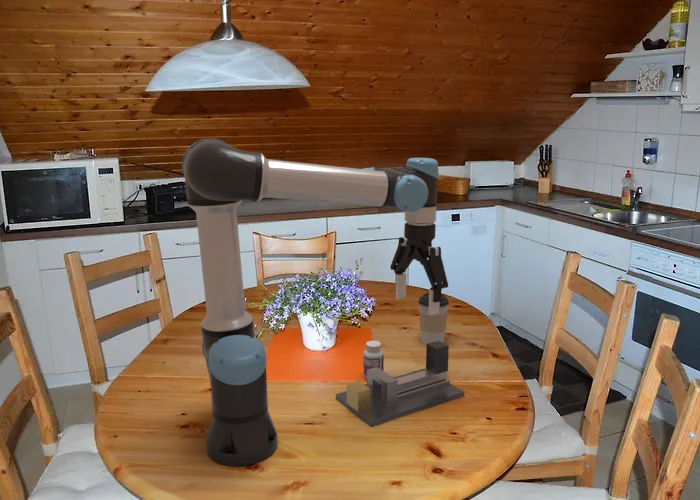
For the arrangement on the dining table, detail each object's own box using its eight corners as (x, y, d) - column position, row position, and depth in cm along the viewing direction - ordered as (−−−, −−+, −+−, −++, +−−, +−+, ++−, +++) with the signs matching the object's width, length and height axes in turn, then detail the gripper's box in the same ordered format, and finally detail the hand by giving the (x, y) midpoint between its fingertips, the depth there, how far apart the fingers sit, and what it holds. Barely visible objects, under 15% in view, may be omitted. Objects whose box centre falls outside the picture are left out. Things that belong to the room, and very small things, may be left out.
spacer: (370, 408, 146) (358, 412, 144) (358, 399, 150) (346, 403, 148) (370, 388, 145) (358, 392, 143) (358, 380, 149) (346, 384, 147)
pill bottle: (371, 370, 169) (371, 337, 166) (387, 376, 166) (387, 342, 163) (359, 377, 165) (359, 344, 162) (375, 383, 161) (375, 348, 159)
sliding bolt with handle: (437, 375, 162) (438, 340, 159) (447, 381, 159) (448, 345, 156) (387, 390, 154) (388, 353, 151) (397, 397, 150) (397, 359, 148)
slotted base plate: (424, 372, 167) (425, 346, 166) (464, 395, 154) (465, 368, 152) (335, 398, 153) (335, 370, 151) (371, 426, 140) (371, 396, 138)
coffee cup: (447, 347, 184) (448, 300, 180) (417, 345, 185) (417, 298, 182) (447, 336, 193) (448, 290, 189) (418, 334, 194) (419, 289, 190)
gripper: (466, 230, 140) (461, 318, 145) (402, 213, 161) (399, 290, 165) (441, 233, 136) (436, 323, 141) (378, 215, 157) (376, 294, 162)
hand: (416, 306), depth 153 cm, fingers open, 13 cm apart
